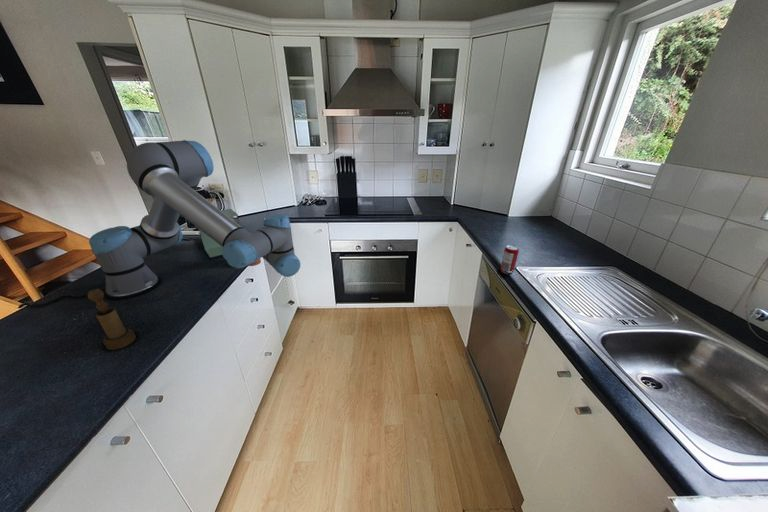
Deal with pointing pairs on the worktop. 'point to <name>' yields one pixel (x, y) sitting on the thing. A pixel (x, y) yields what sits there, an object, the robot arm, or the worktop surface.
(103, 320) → the brown tall wooden piece
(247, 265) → the reddish-brown upright block
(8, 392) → the worktop surface
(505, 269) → the soda can
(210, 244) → the pale green box
